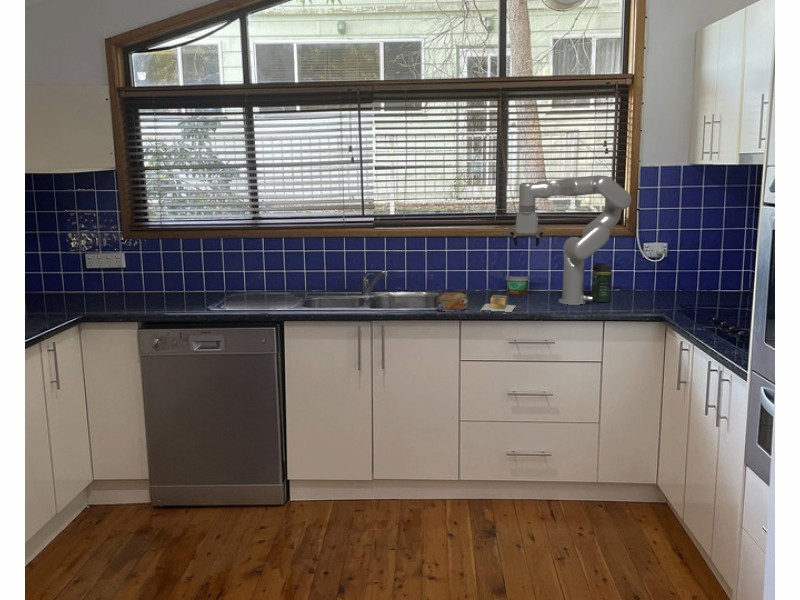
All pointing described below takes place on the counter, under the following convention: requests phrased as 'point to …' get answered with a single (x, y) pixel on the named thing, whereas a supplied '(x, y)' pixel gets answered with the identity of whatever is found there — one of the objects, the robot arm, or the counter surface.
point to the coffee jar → (601, 282)
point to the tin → (452, 301)
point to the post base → (507, 309)
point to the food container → (517, 285)
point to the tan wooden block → (498, 302)
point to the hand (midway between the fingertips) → (526, 246)
